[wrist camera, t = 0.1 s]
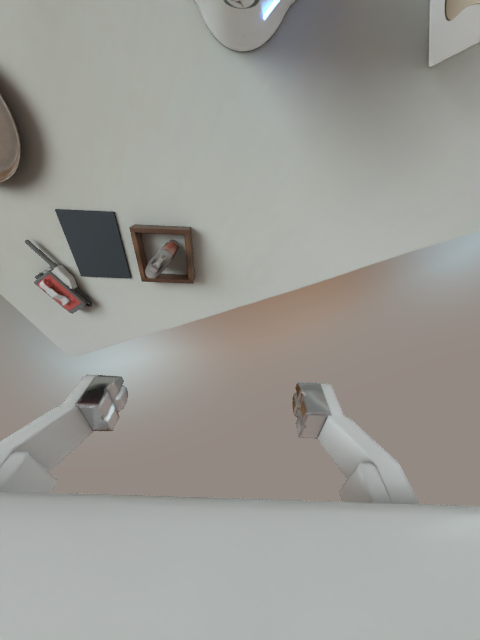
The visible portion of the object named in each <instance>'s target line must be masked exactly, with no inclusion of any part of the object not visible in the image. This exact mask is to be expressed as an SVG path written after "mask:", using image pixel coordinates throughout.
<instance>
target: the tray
mask: <svg viewBox="0 0 480 640" xmlns="http://www.w3.org/2000/svg"><path fill="white" fill-rule="evenodd" d="M130 232H131V236H132V241H133V245H134V249H135V254H136V258H137V262H138V267H139V271H140V275H141V279H142V281H144V282H168V283H192V284H193V282H194V280H195V270H194V258H193V246H192V234H191V227H179V226H157V225H133V226H131V227H130ZM141 233H161V234H183V235H184V236H185V246H186V256H187V266H188V275H175V274H159V275H158V276H157V277H155V278H148V277H147V276H146V274H145V270H146V267H147V261H146V256H145V251H144V246H143V242H142V237H141Z"/></svg>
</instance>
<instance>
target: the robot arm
mask: <svg viewBox="0 0 480 640" xmlns="http://www.w3.org/2000/svg"><path fill="white" fill-rule="evenodd" d="M194 1H195V2H196V4H197V6H198V8H199V10H200V13H201V15H202V17H203V19H204V21H205V23H206V25H207V27H208V28H209V30H210V32H211V33H212V34H213V36H214V37H215V38H216V39H217V40H218V41H219V42H220V43H222V44H223V45H224V46H226V47H228V48H230V49H232V50H235V51H250V50H253V49H256V48H258V47H259V46H261V45H263V44H264V43H265V42H266V41H267V40H268V39H269V38H270V37H271V36H272V35H273V34H274V32H275V31H276V30H277V28H278V26H279V25H280V23H281V21H282V19H283V17H284V15H285V13H286V12H287V10H288V8H289V7H290V5H292V4H293V3H294V2H295V1H296V0H194ZM123 382H124V381H123V378H122V377H118V376H103V375H86V376H84V377H83V378H82V379H81V380H80V382H79V383H78V384H77V386H76V387H75V388H74V390H73V391H72V392H71V394H70V395H69V396H68V398H67V399H66V400H65V402H64V403H63V404H62V406H57V407H55V408H54V409H52V410H50V411H49V412H47V413H46V414H44V415H42V416H41V417H39V418H38V419H36V420H34V421H33V422H31V423H30V424H28V425H26V426H25V427H23V428H21V429H20V430H18V431H17V432H15V433H13V434H12V435H10V436H9V437H7V438H6V439H4V440H2V441H1V442H0V640H480V506H461V505H460V506H459V505H428V504H419V502H418V499H417V498H416V496H415V494H414V492H413V490H412V488H411V486H410V484H409V482H408V480H407V478H406V476H405V475H404V472H403V471H402V468H401V467H400V465H399V463H398V462H397V461H396V460H395V459H394V458H393V457H392V456H390V455H389V454H388V453H387V452H386V451H385V450H384V449H383V448H382V447H380V446H379V445H378V444H377V443H376V442H375V441H374V440H373V439H372V438H371V437H370V436H369V435H367V434H366V433H365V432H364V431H363V430H362V429H361V428H360V427H359V426H358V425H357V424H355V423H354V422H353V421H352V420H351V419H350V418H349V417H348V416H344V414H343V412H342V410H341V407H340V404H339V402H338V399H337V397H336V395H335V392H334V390H333V387H332V385H331V384H320V383H319V384H318V383H297V384H296V393H294V395H293V401H292V406H293V413H294V415H295V416H296V417H297V420H296V428H297V432H298V437H299V438H316V439H317V440H318V441H319V443H320V444H321V445H322V447H323V448H324V449H325V450H326V452H327V453H328V454H329V456H330V457H331V458H332V460H333V461H334V462H335V464H336V465H337V466H338V467H339V469H340V470H341V471H342V473H343V474H344V475H345V477H346V478H347V481H346V482H345V483H344V485H343V486H342V487H341V489H340V490H339V493H340V497H341V500H342V502H333V501H301V500H269V499H239V498H206V497H175V496H174V497H173V496H143V495H111V494H110V495H109V494H79V493H51V492H52V491H53V489H54V487H55V485H56V484H57V479H56V478H55V477H54V476H53V475H52V474H51V473H50V471H51V470H52V469H53V468H54V467H55V466H56V465H57V464H59V463H60V462H61V461H62V460H63V459H64V458H65V457H66V456H67V455H68V454H70V453H71V452H72V451H73V450H74V449H75V448H76V447H77V446H78V445H79V444H81V443H82V442H83V441H84V440H85V439H86V438H87V437H88V436H89V435H90V434H92V433H93V431H113V429H114V427H115V425H116V423H117V421H118V419H119V414H118V412H119V411H120V410H122V409H123V408H124V407H125V404H126V402H127V398H128V391H127V388H126V387H125V386H123V385H122V384H123Z"/></svg>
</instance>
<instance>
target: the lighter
mask: <svg viewBox="0 0 480 640" xmlns="http://www.w3.org/2000/svg"><path fill="white" fill-rule="evenodd" d="M178 248H179V245H178V243H177V242H176V241H175V240H170V241H169V242H167V243H166V244H165V245H164V246H163V247H162V248H161V249H160V251H159V252H157V253H156V254H155V255H154V256H153V258H152V259H151V260H150V262H149V263H148V265H147V267H146V270H145V274H146V276H147V277H148V278H155V277H157V276H158V275H159V274H160V273H161V272H162V271H163V270H164V269H165V268H166V266H167V265H168V264H169V262H170V261H171V260H172V258H173V257H174V256H175V254H176V252H177V250H178Z"/></svg>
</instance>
